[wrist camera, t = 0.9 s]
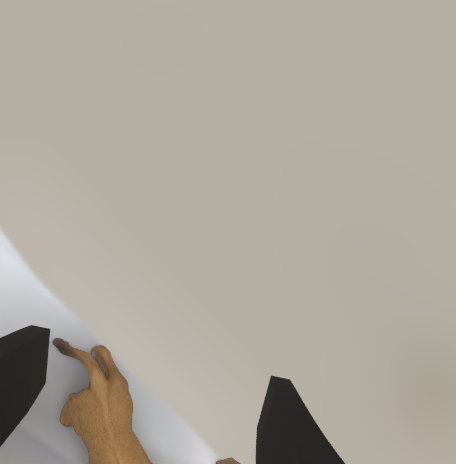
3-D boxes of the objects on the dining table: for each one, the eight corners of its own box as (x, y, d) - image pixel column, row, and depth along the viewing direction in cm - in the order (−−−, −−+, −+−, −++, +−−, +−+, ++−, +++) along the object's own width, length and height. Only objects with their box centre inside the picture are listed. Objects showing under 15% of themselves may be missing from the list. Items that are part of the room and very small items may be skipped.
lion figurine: (198, 503, 26) (264, 581, 18) (129, 569, 24) (171, 694, 16) (90, 317, 26) (110, 315, 18) (9, 365, 23) (-10, 387, 15)
